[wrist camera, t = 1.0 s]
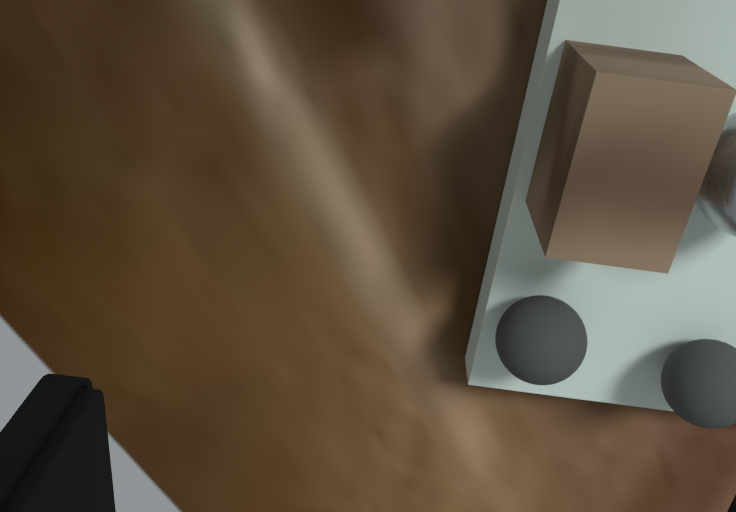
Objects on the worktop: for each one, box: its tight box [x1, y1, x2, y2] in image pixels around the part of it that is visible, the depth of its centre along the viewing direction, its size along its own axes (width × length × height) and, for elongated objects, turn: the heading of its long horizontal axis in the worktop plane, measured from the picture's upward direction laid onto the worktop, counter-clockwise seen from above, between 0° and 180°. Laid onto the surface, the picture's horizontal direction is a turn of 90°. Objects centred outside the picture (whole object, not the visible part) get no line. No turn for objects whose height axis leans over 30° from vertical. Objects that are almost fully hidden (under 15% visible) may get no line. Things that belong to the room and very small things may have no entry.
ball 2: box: [661, 339, 736, 428], centre depth 28 cm, size 4×4×4 cm
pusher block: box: [525, 40, 736, 274], centre depth 23 cm, size 6×4×4 cm, turn 173°
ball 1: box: [495, 295, 587, 385], centre depth 27 cm, size 4×4×4 cm
